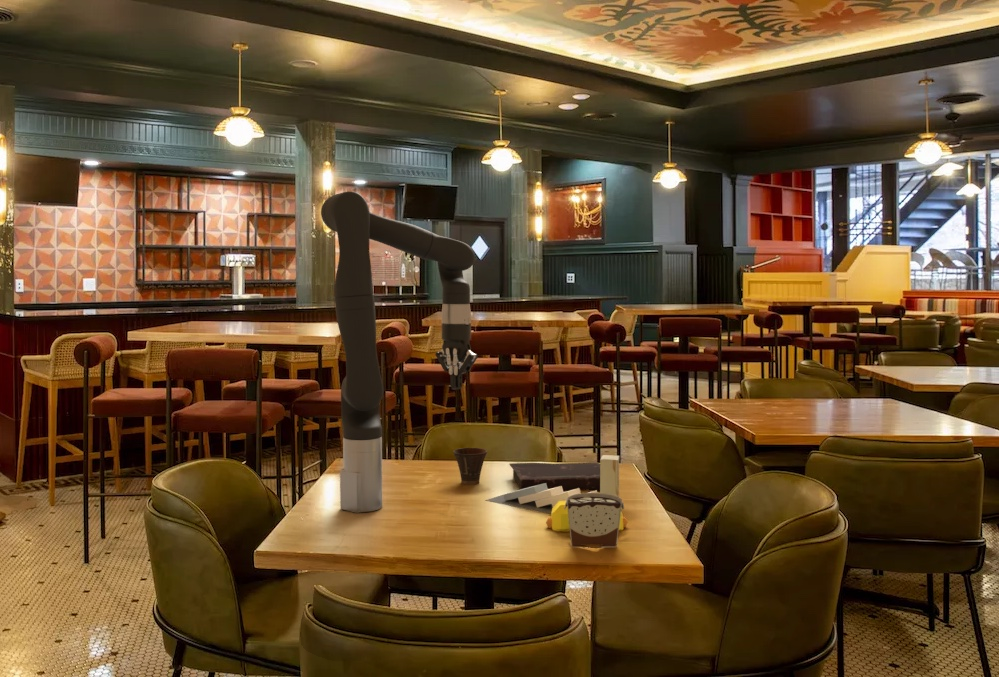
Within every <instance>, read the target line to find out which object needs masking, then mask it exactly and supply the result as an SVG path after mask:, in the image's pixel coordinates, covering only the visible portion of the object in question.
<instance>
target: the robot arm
mask: <svg viewBox="0 0 999 677" xmlns="http://www.w3.org/2000/svg"><path fill="white" fill-rule="evenodd" d="M320 216H321V219H322V221H323V223H324V225H325V226H326V227H327V228H329V230H331V231H333V232H334V233H335V232H336V234H337V240H338V241H337V243H338V251H339V252H338V253H339V255H338V256H339V257H338V262H337V268H336V273H335V279H334V286H333V287H334V288H333V294H334V307H335V308H334V309H335V315H336V320H337V326H338V330H339V334H340V337H341V340H342V343H343V349H344V354H345V367H346V368H345V369H346V370H345V372H346V375H345V377H344V378H343V379H342V382H341V387H340V388H341V389H340V407H341V409H340V410H341V413H340V414H341V415H340V416H341V427H342V444H343V445H342V446H343V447H342V453H343V454H342V456H343V457H342V462H343V463H342V466H343V469H340V470H339V482H340V483H339V485H340V486H339V487H340V488H339V490H340V491H339V492H340V493H339V496H340V498H339V499H340V502H339V503H340V506H339V507H340V510H344V511H348V512H352V513H355V514H359V513H366V512H373V511H379V510H380V509H382V508H383V427H382V426H383V425H382V421H381V416H380V413H381V412H380V403H381V401H382V399H383V397H384V396H383V395H384V384H383V379H382V375H381V374H382V373H381V370H380V365H379V360H378V353H377V321H376V320H377V318H376V303H375V295H374V292H375V291H374V283H373V274H372V264H371V254H370V240H371V241H375V242H378V243H380V244H383V245H387V246H389V247H391V248H394V249H396V250H399V251H401V252H404V253H407V254H409V255H411V256H413V257H417V258H419V259H422V260H425V261H433V262H436V263H437V266H438V267H437V269H438V273H439V278H440V282H441V286H442V297H441V298H442V307H441V339H442V341H443V343H442V346H441V349H440V350H439V351H436V352H435V356H436V359H437V360H438V362H439V364H440V366H441V367H442V369H443V371H444V372H446V373H448V374H449V375H450V376H449V378H450V379H449V380H450V382H449V383H450V387H451V388H450V389H451V390H454V391H455V390H456V391H457V390H461V389H462V388H463V374H466V373H469V372H470V370H471V369H472V367H473V365H474V363H475V362H476V361H477V359H478V354H477V353H474V352H473V351H472V350H471V349H472V348H471V344H470V341H471V339H472V311H471V304H470V303H471V288H470V283H468V281H466V280H465V279H464V275H463V271H466V270H469V269H470V268H472V266H473V265H474V263H475V261H476V260H475V259H476V254H475V251H474V250H473V248H472V247H471V246H470V245H469V244H467V243H465V242H463V241H460V240H456V239H454V238H450V237H446V236H442V235H438V234H436V233H434V232H432V231H429V230H427V229H424V228H422V227H420V226H417V225H415V224H412V223H407V222H404V221H401V220H396V219H392V218H388V217H384V216H382V215H381V216H380V215H378V214H376V213H373V212H370V209H369V205H368V202H367V200H366V199H365V197H363V195H361V194H360V193H358V192H357V191H353V190H352V191H351V190H348V191H347V190H346V191H343V192H339V193H336V194H333V195H331V196H329V197H328V198H327V199H326V200H325V201H324V202H323V203H322V205H321V209H320Z"/></svg>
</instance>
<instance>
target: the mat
mask: <svg viewBox="0 0 999 677" xmlns="http://www.w3.org/2000/svg"><path fill="white" fill-rule="evenodd" d="M503 495H504V494H501V495H498V496H495V497H492V498H491V497H490V498H488V499H486V500H485V501H486V502H490V503H496V504H499V505H505V506H511V507H514V508H519V509H524V510H530V511H534V512H538V513H543V514H549V515H551V512H552V508H553V507H552V504H548V505H545V506H541V507H538V508H537V506H536V503H535V501H537V500H535V501H531V502H527V503H523V504H520V503H519V499H518V498H515V499H511V500H507V501H505V500H504V496H503ZM539 500H540V499H539Z"/></svg>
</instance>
